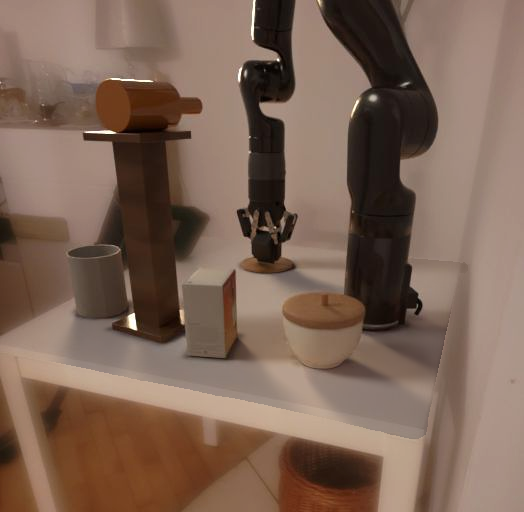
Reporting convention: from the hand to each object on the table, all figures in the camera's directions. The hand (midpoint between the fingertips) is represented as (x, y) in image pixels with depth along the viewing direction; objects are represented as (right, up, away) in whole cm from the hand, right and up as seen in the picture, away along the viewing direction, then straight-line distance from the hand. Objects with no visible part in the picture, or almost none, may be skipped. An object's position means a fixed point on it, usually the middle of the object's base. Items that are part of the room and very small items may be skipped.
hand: (266, 258), depth 106 cm
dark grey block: (0, +2, -1) cm, 2 cm away
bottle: (-15, +11, -37) cm, 42 cm away
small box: (-8, -19, -35) cm, 41 cm away
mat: (0, -1, +1) cm, 1 cm away
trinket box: (+7, -21, -39) cm, 45 cm away
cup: (-28, -13, -22) cm, 38 cm away
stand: (-17, -16, -28) cm, 37 cm away
